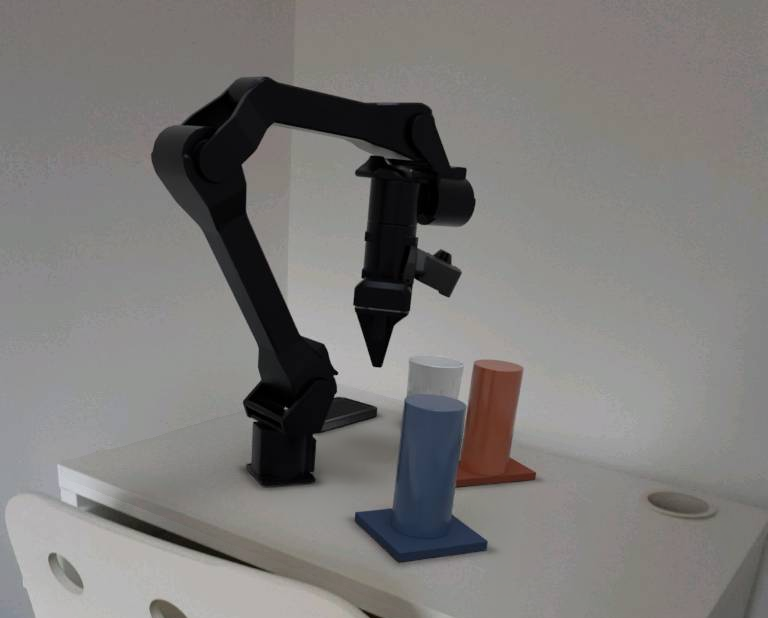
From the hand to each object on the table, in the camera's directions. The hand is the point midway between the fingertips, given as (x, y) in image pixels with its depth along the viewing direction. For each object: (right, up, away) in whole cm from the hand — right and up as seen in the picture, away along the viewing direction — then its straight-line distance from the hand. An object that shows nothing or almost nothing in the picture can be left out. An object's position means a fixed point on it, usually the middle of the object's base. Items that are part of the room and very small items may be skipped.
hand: (379, 358), depth 98 cm
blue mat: (+4, -21, -15) cm, 26 cm away
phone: (-8, -5, +20) cm, 22 cm away
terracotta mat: (+13, -14, +4) cm, 19 cm away
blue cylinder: (+4, -20, -16) cm, 26 cm away
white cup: (+7, -7, +21) cm, 23 cm away
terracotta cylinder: (+13, -13, +3) cm, 19 cm away
